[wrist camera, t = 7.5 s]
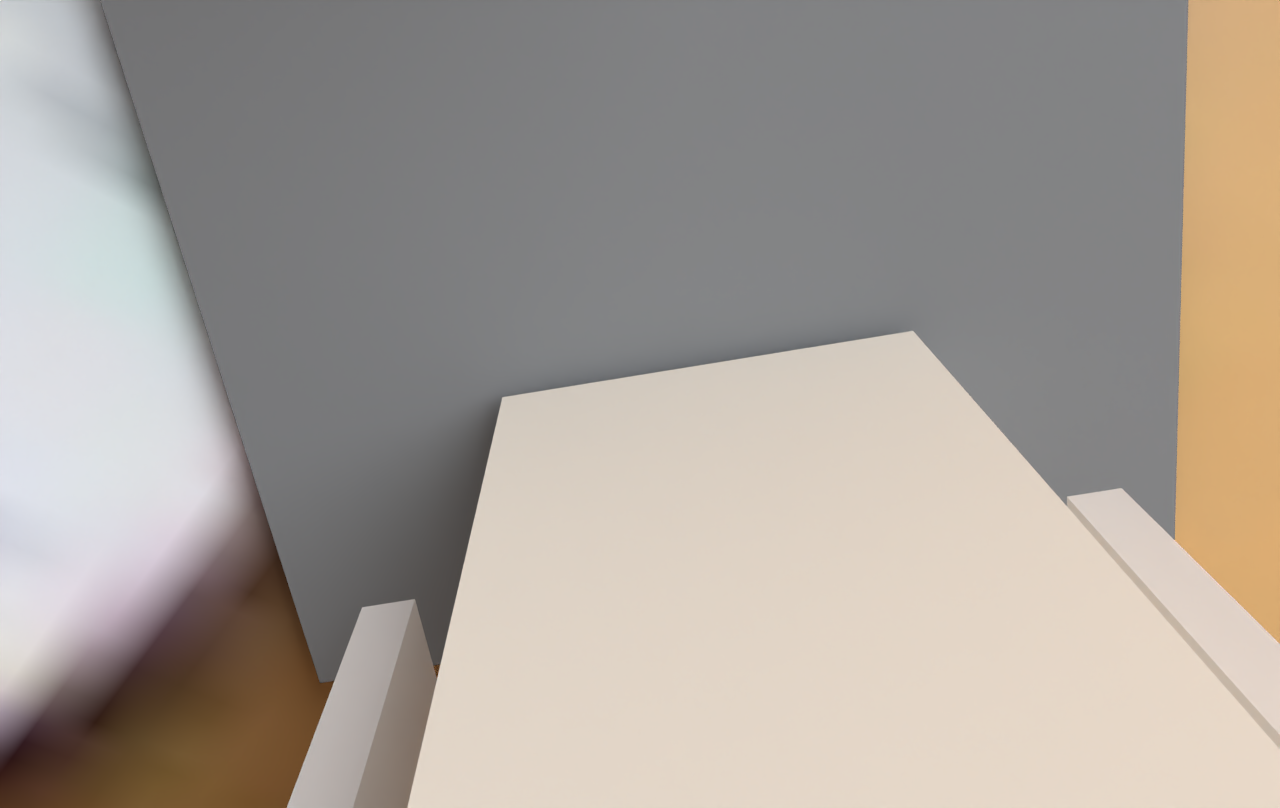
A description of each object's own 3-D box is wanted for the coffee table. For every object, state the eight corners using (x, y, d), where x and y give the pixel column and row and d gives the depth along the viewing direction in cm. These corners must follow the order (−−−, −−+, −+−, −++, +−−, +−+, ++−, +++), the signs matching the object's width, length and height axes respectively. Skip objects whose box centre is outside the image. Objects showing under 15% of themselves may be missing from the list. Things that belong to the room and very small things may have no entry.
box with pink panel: (587, 778, 18) (573, 1616, 9) (502, 397, 16) (359, 1012, 6) (940, 725, 18) (1300, 1521, 9) (912, 330, 16) (1379, 863, 6)
